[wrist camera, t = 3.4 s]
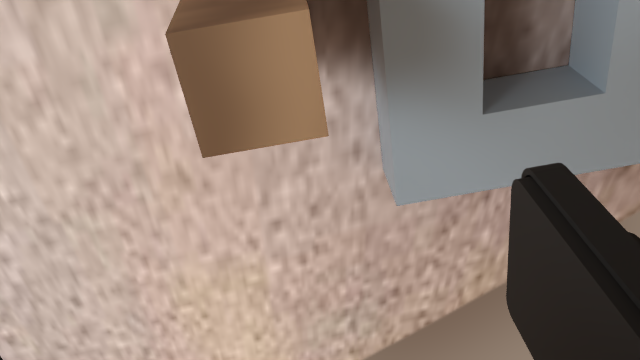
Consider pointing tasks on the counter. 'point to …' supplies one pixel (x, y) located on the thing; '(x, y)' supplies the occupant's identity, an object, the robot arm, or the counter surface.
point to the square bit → (247, 73)
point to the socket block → (499, 98)
